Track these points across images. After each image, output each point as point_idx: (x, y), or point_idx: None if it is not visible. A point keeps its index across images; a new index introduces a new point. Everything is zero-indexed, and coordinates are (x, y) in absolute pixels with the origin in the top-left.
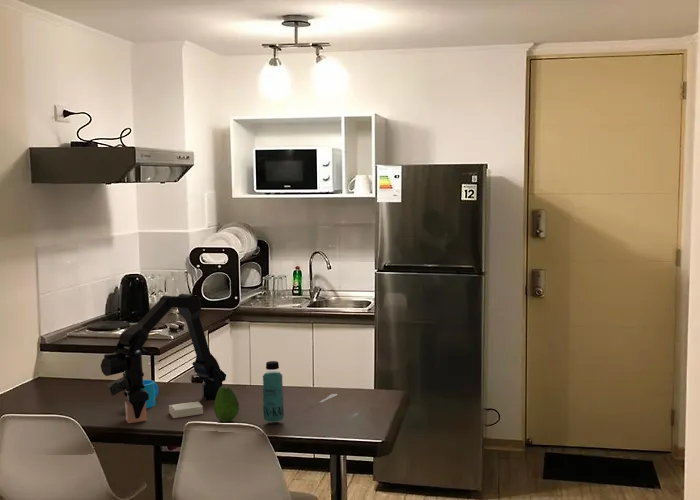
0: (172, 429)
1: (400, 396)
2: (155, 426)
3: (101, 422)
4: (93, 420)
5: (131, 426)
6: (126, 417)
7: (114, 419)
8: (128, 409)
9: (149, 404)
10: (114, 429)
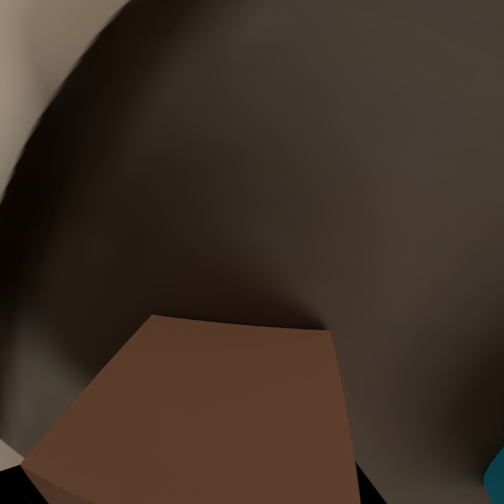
0: (10, 437)
1: None
2: (47, 422)
3: (371, 42)
4: (474, 13)
5: (66, 313)
6: (263, 347)
7: (419, 208)
8: (67, 428)
9: (489, 490)
10: (40, 155)
